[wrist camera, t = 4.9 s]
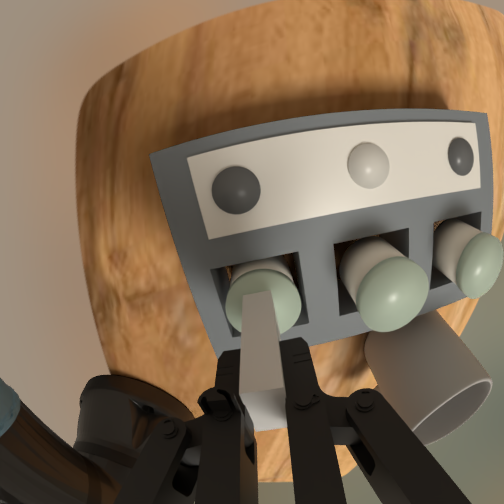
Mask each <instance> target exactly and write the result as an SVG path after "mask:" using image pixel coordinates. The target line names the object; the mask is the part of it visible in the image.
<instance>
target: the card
mask: <svg viewBox="0 0 504 504" xmlns="http://www.w3.org/2000/svg"><path fill="white" fill-rule="evenodd" d="M187 161H188V164H189V168H190V172H191V176H192V180H193V184H194V188H195V191H196V195H197V199H198V202H199V206H200V210H201V213H202V217H203V221H204V224H205V228H206V231H207V235H208V238H209V240H210V239H214V238H219V237H223V236H228V235H232V234H237V233H242V232H246V231H251V230H256V229H260V228H265V227H270V226H275V225H279V224H284V223H289V222H294V221H299V220H304V219H309V218H314V217H319V216H324V215H329V214H334V213H339V212H345V211H350V210H355V209H360V208H366V207H371V206H377V205H382V204H387V203H393V202H399V201H404V200H410V199H416V198H421V197H427V196H433V195H439V194H445V193H451V192H458V191H464V190H470V189H477V188H480V163H479V150H478V140H477V132H476V125H475V123H463V122H398V123H380V124H366V125H355V126H345V127H337V128H328V129H321V130H314V131H307V132H301V133H294V134H288V135H283V136H277V137H272V138H267V139H262V140H257V141H252V142H247V143H243V144H238V145H234V146H230V147H226V148H222V149H218V150H214V151H210V152H206V153H202V154H199V155H195V156H191V157H188V158H187Z"/></svg>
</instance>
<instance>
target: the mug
mask: <svg viewBox="0 0 504 504" xmlns="http://www.w3.org/2000/svg"><path fill="white" fill-rule="evenodd" d="M364 352H365V357H366V360H367V363H368V365H369V367H370V369H371V371H372V373H373V375H374V377H375V379H376V381H377V384H378V385H377V386H376V387H375V388H374V390H377V391H378V392H379V393H381V394H382V395H383V397H384V398H385V399H386V400H387V401H388V403H389V404H390V405H391V406H392V407H393V409H394V410H395V411H396V412H397V413H398V415H399V416H400V417H401V418H402V419H403V421H404V422H405V423H406V424H407V425H408V427H409V428H410V429H411V430H412V431H413V433H414V434H415V435H416V436H417V437H418V439H419V440H420V441H421V442H422V444H423V445H424V446H426V445H429V444H431V443H433V442H436V441H437V440H440V439H441V438H443V437H445V436H447V435H448V434H450V433H451V432H453V431H454V430H456V429H457V428H458V427H460V426H461V425H462V424H463V423H465V422H466V421H467V420H468V419H469V418H470V417H471V416H472V415H473V414H474V413H475V412H476V411H477V410H478V409H479V408H480V406H481V405H482V404H483V403H484V401H485V400H486V399H487V397H488V395H489V393H490V391H491V388H492V379H491V377H490V376H489V374H488V373H487V372H486V370H485V369H484V368H483V366H482V365H481V364H480V363H479V361H478V360H477V359H476V357H475V356H474V355H473V354H472V352H471V351H470V350H469V349H468V347H467V346H466V345H465V344H464V343H463V341H462V340H461V339H460V338H459V337H458V335H457V334H456V333H455V332H454V331H453V330H452V328H451V327H450V326H449V325H448V324H447V323H446V321H445V320H444V319H443V318H442V317H441V315H440V314H439V313H438V312H437V311H436V310H433V311H430V312H427V313H425V314H422V315H419V316H416V317H414V318H413V319H412V320H411V321H410V322H409V323H407V324H406V325H404V326H403V327H401V328H399V329H396V330H394V331H390V332H378V331H374V330H372V331H370V332H369V334H368V336H367V339H366V342H365V346H364Z"/></svg>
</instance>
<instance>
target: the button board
mask: <svg viewBox="0 0 504 504" xmlns="http://www.w3.org/2000/svg"><path fill="white" fill-rule="evenodd" d="M398 122H463V123H475V125H476V132H477V140H478V150H479V163H480V188H477V189H470V190H464V191H458V192H451V193H445V194H439V195H433V196H427V197H421V198H416V199H410V200H404V201H399V202H393V203H387V204H382V205H377V206H371V207H366V208H360V209H355V210H350V211H345V212H339V213H334V214H329V215H324V216H319V217H314V218H309V219H304V220H299V221H294V222H289V223H284V224H279V225H275V226H270V227H265V228H260V229H256V230H251V231H246V232H242V233H237V234H232V235H228V236H223V237H219V238H214V239H210V240H209V238H208V235H207V231H206V228H205V224H204V221H203V217H202V213H201V210H200V206H199V202H198V199H197V195H196V191H195V188H194V184H193V180H192V176H191V172H190V168H189V164H188V161H187V158H188V157H191V156H195V155H199V154H202V153H206V152H210V151H214V150H218V149H222V148H226V147H230V146H234V145H238V144H243V143H247V142H252V141H257V140H262V139H267V138H272V137H277V136H283V135H288V134H294V133H301V132H307V131H314V130H321V129H328V128H337V127H345V126H355V125H366V124H380V123H398ZM149 156H150V160H151V164H152V168H153V172H154V176H155V179H156V183H157V186H158V190H159V194H160V197H161V201H162V204H163V207H164V211H165V214H166V217H167V221H168V224H169V227H170V230H171V234H172V237H173V240H174V243H175V246H176V249H177V252H178V255H179V258H180V261H181V264H182V267H183V270H184V273H185V276H186V278H187V281H188V284H189V287H190V290H191V292H192V295H193V298H194V301H195V303H196V306H197V309H198V311H199V314H200V316H201V319H202V322H203V324H204V327H205V329H206V332H207V334H208V337H209V339H210V342H211V344H212V347H213V349H214V351H215V354H216V356H217V359H219V357H220V356H221V354H222V353H223V351H228V350H235V349H241V332H239V331H238V330H236V329H235V328H234V327H233V326H232V324H231V323H230V322H229V320H228V318H227V315H226V309H225V306H226V298H227V293H228V290H229V288H230V281H229V278H228V274H227V271H226V267H225V266H230V265H235V264H239V263H244V262H249V261H254V260H259V259H264V258H269V257H274V256H278V255H283V254H288V253H293V258H294V264H295V270H296V276H297V282H298V288H299V289H297V290H298V293H299V296H300V300H301V312H300V315H299V317H298V319H297V321H296V322H295V324H294V325H293V326H292V327H291V328H290V329H288V330H287V331H286V332H284V333H282V334H280V337H281V341H282V340H288V339H292V338H297V337H302V338H303V339H304V340H305V341H306V342H307V343H308V346H313V345H318V344H322V343H326V342H331V341H335V340H339V339H343V338H347V337H350V336H354V335H358V334H362V333H365V332H369V331H372V329H370V328H369V327H368V326H367V325H366V324H365V323H364V321H363V319H362V318H361V316H360V314H359V312H358V310H357V307H356V304H355V302H354V300H353V299H352V297H351V295H350V294H349V292H348V290H347V289H346V287H345V286H344V284H343V282H342V280H341V279H340V280H337V276H336V265H335V255H334V246H333V244H335V243H340V242H345V241H349V240H354V239H359V238H363V237H368V236H373V235H377V234H380V238H382V239H384V240H386V241H387V242H388V243H389V244H391V245H392V246H393V247H394V248H396V249H397V250H398V251H399V252H400V253H402V254H403V255H404V256H405V257H407V258H409V259H411V260H413V261H414V262H415V263H416V264H418V265H419V266H420V267H421V268H422V269H423V270H424V271H425V273H426V275H427V277H428V282H429V290H428V295H427V298H426V301H425V303H424V305H423V307H422V309H421V310H420V312H419V313H418V314H417V315H416V316H419V315H422V314H425V313H427V312H430V311H433V310H436V309H438V308H441V307H443V306H446V305H449V304H451V303H454V302H456V301H458V300H461V299H463V298H466V297H467V296H466V295H465V294H464V293H463V292H462V291H461V290H459V288H458V286H457V285H456V284H455V283H454V282H452V281H451V280H450V279H449V278H448V277H446V276H445V275H444V274H443V273H442V272H440V271H439V270H438V269H437V268H435V267H434V266H433V265H432V256H433V229H434V222H436V221H441V220H445V219H450V218H456V219H458V220H460V221H462V222H464V223H466V224H468V225H470V226H472V227H474V228H476V229H478V230H480V231H482V232H486V233H489V234H491V230H492V216H493V164H492V150H491V139H490V131H489V124H488V117H487V113H480V112H470V111H459V110H443V109H377V110H360V111H347V112H337V113H328V114H319V115H311V116H304V117H297V118H291V119H285V120H279V121H274V122H268V123H263V124H258V125H253V126H248V127H244V128H239V129H235V130H230V131H226V132H222V133H218V134H214V135H210V136H207V137H203V138H199V139H196V140H192V141H189V142H185V143H182V144H179V145H175V146H172V147H169V148H166V149H163V150H160V151H157V152H154V153H151V154H149ZM416 316H415V317H416Z"/></svg>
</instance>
